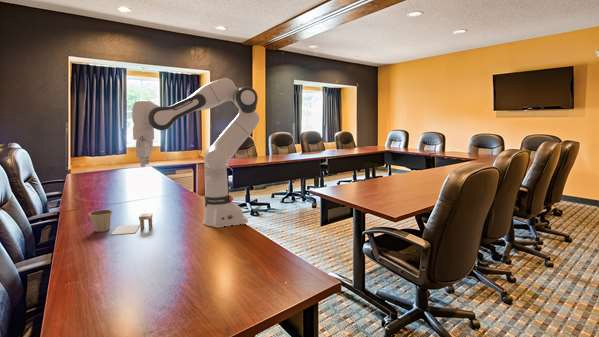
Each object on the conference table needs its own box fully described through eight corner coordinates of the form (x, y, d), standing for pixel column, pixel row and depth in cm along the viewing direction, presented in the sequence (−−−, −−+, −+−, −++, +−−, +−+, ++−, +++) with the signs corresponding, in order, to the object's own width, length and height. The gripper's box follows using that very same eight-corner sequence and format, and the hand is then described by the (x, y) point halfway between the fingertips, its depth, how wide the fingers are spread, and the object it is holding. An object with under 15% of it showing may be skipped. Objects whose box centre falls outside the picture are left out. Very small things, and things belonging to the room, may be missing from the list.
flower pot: (103, 234, 150) (101, 215, 148) (85, 232, 151) (83, 214, 150) (118, 227, 159) (116, 210, 157) (101, 226, 160) (100, 209, 159)
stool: (153, 227, 160) (152, 213, 159) (151, 230, 155) (150, 216, 154) (141, 228, 158) (141, 214, 157) (139, 231, 153) (138, 216, 152)
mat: (140, 225, 162) (140, 224, 162) (135, 233, 151) (135, 232, 151) (117, 227, 159) (117, 226, 159) (110, 235, 148) (110, 234, 148)
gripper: (147, 136, 143) (148, 168, 145) (154, 135, 162) (155, 162, 164) (131, 136, 141) (132, 168, 143) (140, 135, 161) (141, 163, 162)
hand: (145, 165), depth 154 cm, fingers open, 8 cm apart
